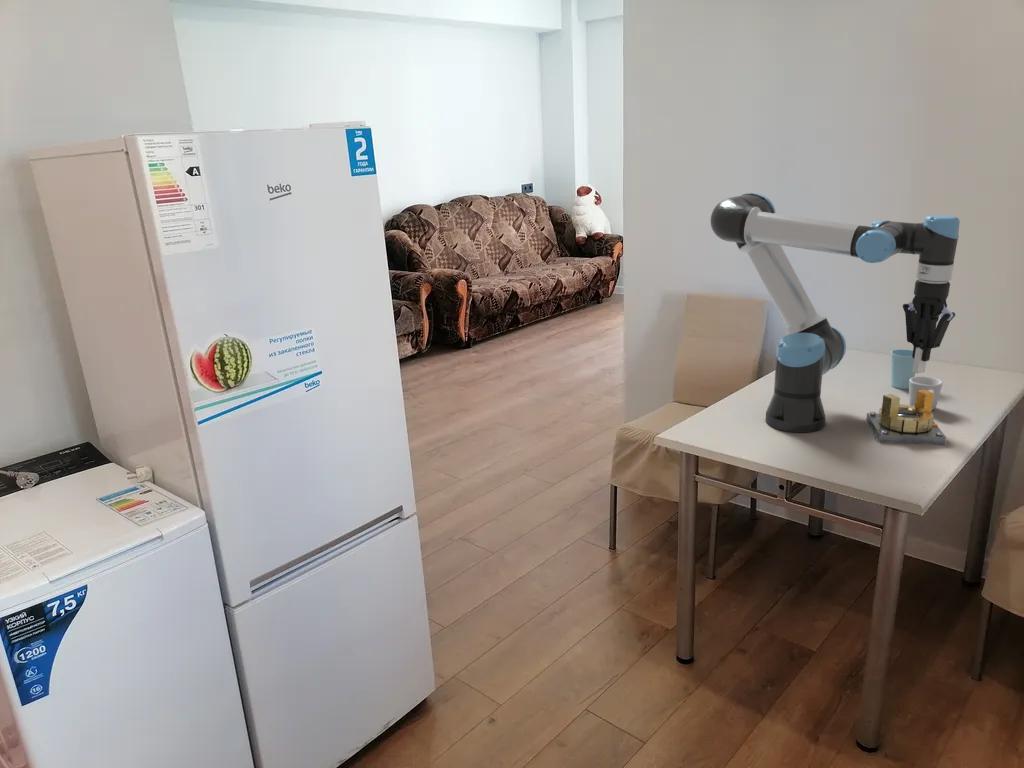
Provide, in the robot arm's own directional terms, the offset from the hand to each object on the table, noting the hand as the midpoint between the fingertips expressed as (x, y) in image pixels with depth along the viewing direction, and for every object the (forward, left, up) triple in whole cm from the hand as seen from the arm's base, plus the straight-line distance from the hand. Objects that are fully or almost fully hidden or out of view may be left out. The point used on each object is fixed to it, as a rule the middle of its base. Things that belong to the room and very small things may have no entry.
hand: (918, 371), depth 193 cm
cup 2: (+6, +13, -15) cm, 21 cm away
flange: (-3, -4, -15) cm, 16 cm away
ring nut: (-3, -4, -13) cm, 14 cm away
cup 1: (+5, +33, -15) cm, 37 cm away
